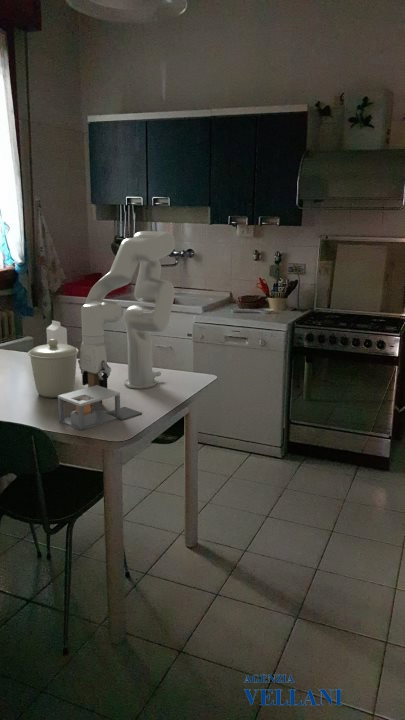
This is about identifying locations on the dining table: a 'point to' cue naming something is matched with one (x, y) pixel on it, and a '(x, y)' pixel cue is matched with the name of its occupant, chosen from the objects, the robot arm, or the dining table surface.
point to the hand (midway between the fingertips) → (94, 386)
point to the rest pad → (125, 413)
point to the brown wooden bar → (93, 382)
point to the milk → (57, 332)
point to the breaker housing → (96, 414)
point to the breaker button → (86, 408)
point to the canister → (54, 368)
